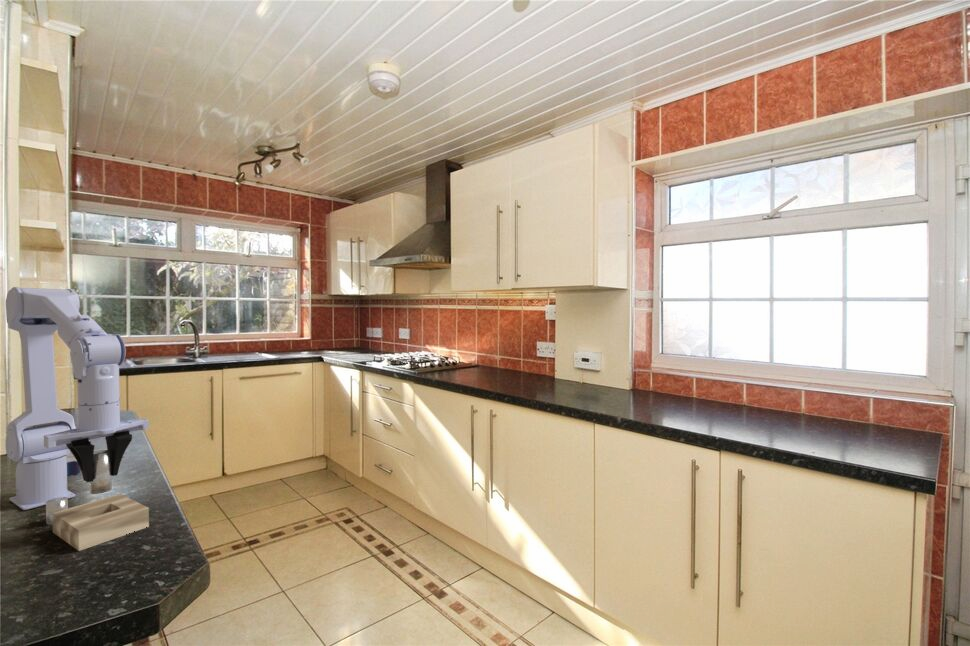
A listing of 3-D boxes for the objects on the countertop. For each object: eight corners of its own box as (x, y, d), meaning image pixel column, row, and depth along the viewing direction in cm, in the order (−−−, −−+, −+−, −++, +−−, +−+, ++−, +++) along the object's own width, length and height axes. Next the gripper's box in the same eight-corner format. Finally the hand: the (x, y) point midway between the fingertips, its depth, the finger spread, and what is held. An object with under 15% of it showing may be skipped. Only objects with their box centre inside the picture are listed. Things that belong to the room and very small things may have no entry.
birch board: (52, 532, 81) (52, 512, 81) (120, 511, 90) (120, 493, 90) (78, 551, 75) (78, 530, 75) (148, 526, 83) (148, 507, 83)
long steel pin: (87, 491, 82) (86, 452, 82) (108, 486, 84) (107, 448, 84) (93, 495, 80) (92, 455, 80) (114, 489, 83) (113, 451, 82)
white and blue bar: (55, 463, 107) (59, 428, 125) (56, 490, 108) (59, 451, 126) (85, 458, 110) (84, 425, 129) (86, 484, 111) (84, 447, 129)
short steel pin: (44, 522, 85) (43, 501, 85) (65, 516, 88) (64, 495, 87) (49, 526, 83) (48, 505, 83) (70, 520, 86) (70, 499, 86)
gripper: (53, 412, 73) (55, 496, 74) (155, 398, 86) (157, 469, 86) (38, 407, 77) (40, 487, 78) (138, 394, 90) (140, 463, 90)
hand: (100, 477), depth 82 cm, fingers closed on long steel pin, 3 cm apart
